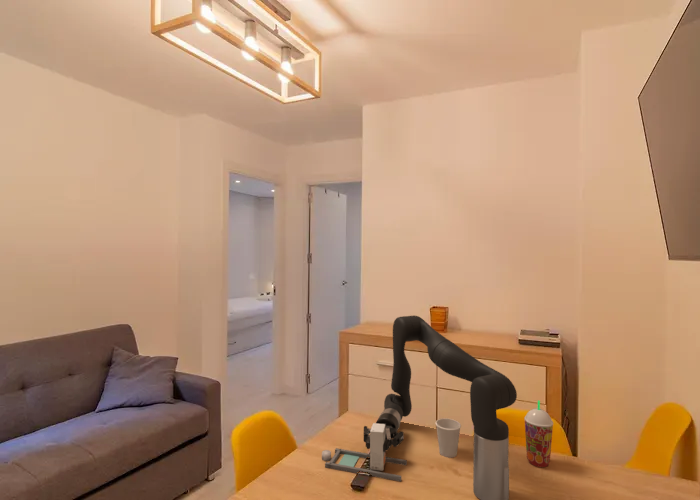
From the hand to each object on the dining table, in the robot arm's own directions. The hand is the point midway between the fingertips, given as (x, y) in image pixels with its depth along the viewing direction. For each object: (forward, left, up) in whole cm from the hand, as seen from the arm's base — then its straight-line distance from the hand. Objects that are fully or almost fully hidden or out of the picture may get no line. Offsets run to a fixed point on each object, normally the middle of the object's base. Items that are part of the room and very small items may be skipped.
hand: (376, 447), depth 123 cm
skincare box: (0, -3, -7) cm, 8 cm away
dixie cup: (-20, -18, -8) cm, 28 cm away
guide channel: (+5, -2, -8) cm, 10 cm away
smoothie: (-48, -21, -8) cm, 53 cm away
